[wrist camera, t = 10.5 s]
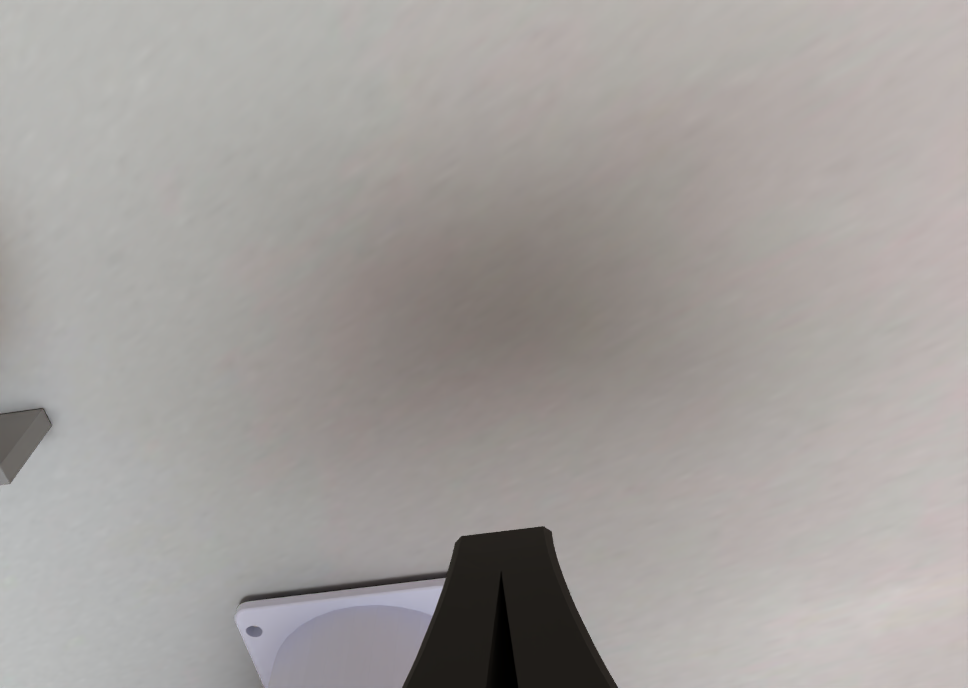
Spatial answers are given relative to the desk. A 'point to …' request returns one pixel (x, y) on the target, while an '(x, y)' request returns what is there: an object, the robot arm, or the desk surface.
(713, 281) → the desk surface
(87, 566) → the desk surface
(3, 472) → the grey bay
